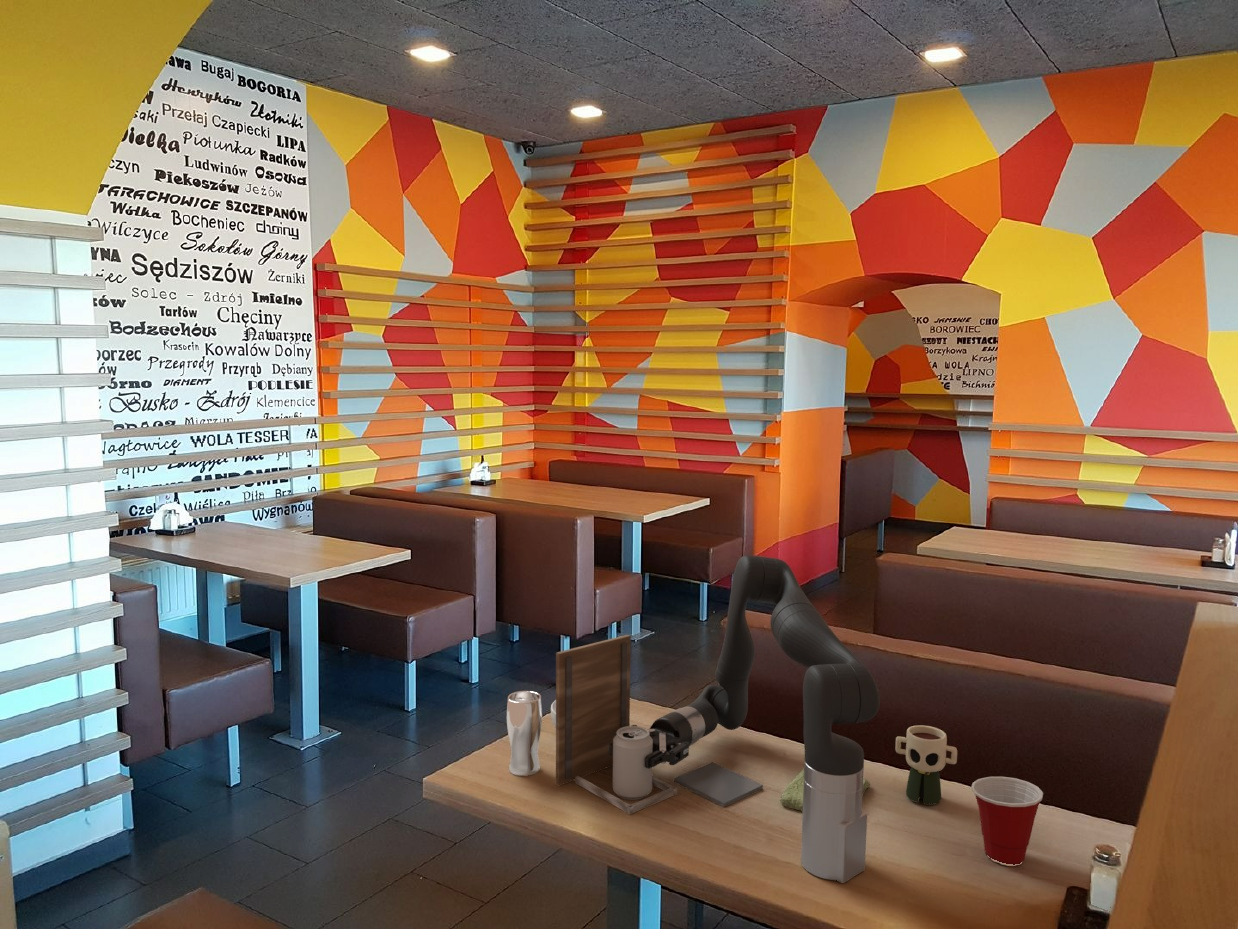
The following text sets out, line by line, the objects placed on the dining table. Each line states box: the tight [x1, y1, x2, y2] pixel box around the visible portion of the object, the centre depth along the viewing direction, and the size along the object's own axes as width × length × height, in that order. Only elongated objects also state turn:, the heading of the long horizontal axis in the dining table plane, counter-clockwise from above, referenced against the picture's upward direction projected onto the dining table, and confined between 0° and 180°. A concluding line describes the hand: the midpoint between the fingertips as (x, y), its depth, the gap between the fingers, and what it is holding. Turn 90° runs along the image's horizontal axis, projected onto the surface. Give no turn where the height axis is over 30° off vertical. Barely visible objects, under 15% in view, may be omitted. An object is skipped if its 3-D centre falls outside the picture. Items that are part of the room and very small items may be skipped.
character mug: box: [895, 725, 958, 805], centre depth 165 cm, size 11×7×13 cm, turn 63°
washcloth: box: [779, 767, 871, 813], centre depth 167 cm, size 13×18×3 cm
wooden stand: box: [555, 634, 678, 815], centre depth 168 cm, size 18×18×26 cm
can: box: [612, 725, 653, 801], centre depth 167 cm, size 8×8×12 cm
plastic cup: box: [970, 776, 1044, 865], centre depth 146 cm, size 11×11×12 cm
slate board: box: [673, 761, 764, 808], centre depth 171 cm, size 13×11×1 cm
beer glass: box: [506, 690, 543, 777], centre depth 176 cm, size 7×7×15 cm
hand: (628, 756), depth 166 cm, fingers open, 8 cm apart
